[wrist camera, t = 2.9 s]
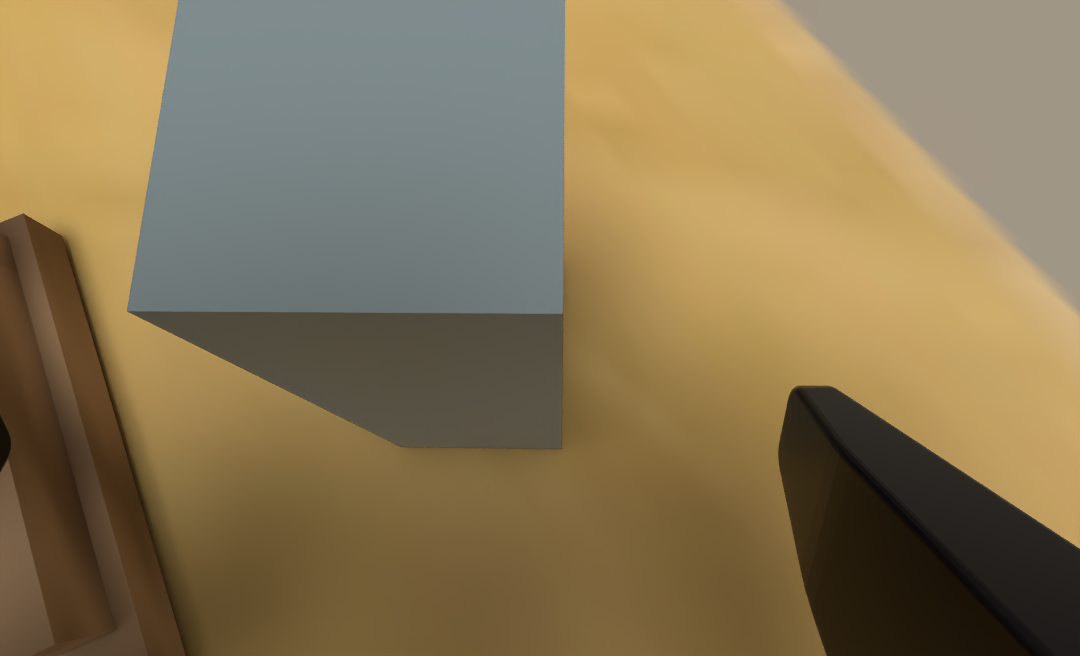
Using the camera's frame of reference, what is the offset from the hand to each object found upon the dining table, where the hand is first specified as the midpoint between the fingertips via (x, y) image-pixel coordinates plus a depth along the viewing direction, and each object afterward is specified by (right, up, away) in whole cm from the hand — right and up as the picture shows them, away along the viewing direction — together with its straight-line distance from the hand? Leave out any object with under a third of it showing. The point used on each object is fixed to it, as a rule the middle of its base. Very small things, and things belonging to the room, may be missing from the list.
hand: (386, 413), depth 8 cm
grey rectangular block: (0, 0, +11) cm, 11 cm away
